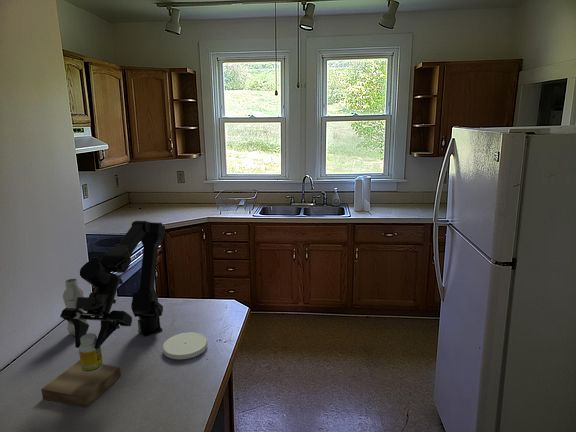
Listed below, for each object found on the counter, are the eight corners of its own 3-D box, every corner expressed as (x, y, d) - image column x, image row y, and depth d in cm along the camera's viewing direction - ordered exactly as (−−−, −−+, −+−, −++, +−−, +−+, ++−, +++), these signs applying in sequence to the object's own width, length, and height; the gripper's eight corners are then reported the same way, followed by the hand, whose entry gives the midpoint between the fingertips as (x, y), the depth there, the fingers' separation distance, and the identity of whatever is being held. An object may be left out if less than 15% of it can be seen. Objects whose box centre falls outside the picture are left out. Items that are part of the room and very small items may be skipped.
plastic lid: (155, 351, 134) (154, 344, 134) (191, 334, 144) (191, 328, 144) (179, 367, 125) (178, 360, 124) (216, 349, 135) (215, 342, 134)
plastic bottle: (81, 338, 142) (73, 284, 138) (64, 337, 144) (55, 283, 139) (93, 329, 148) (86, 277, 144) (76, 328, 150) (69, 276, 145)
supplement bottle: (83, 364, 116) (79, 333, 114) (104, 361, 117) (100, 330, 115) (80, 375, 111) (75, 343, 109) (101, 372, 112) (97, 340, 110)
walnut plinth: (80, 369, 124) (79, 360, 124) (120, 375, 121) (119, 366, 120) (42, 398, 111) (41, 389, 111) (86, 407, 108) (84, 397, 107)
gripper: (59, 281, 114) (36, 338, 106) (122, 284, 111) (103, 342, 103) (81, 295, 123) (61, 348, 115) (139, 298, 120) (123, 353, 112)
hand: (86, 348), depth 111 cm, fingers closed on supplement bottle, 5 cm apart
